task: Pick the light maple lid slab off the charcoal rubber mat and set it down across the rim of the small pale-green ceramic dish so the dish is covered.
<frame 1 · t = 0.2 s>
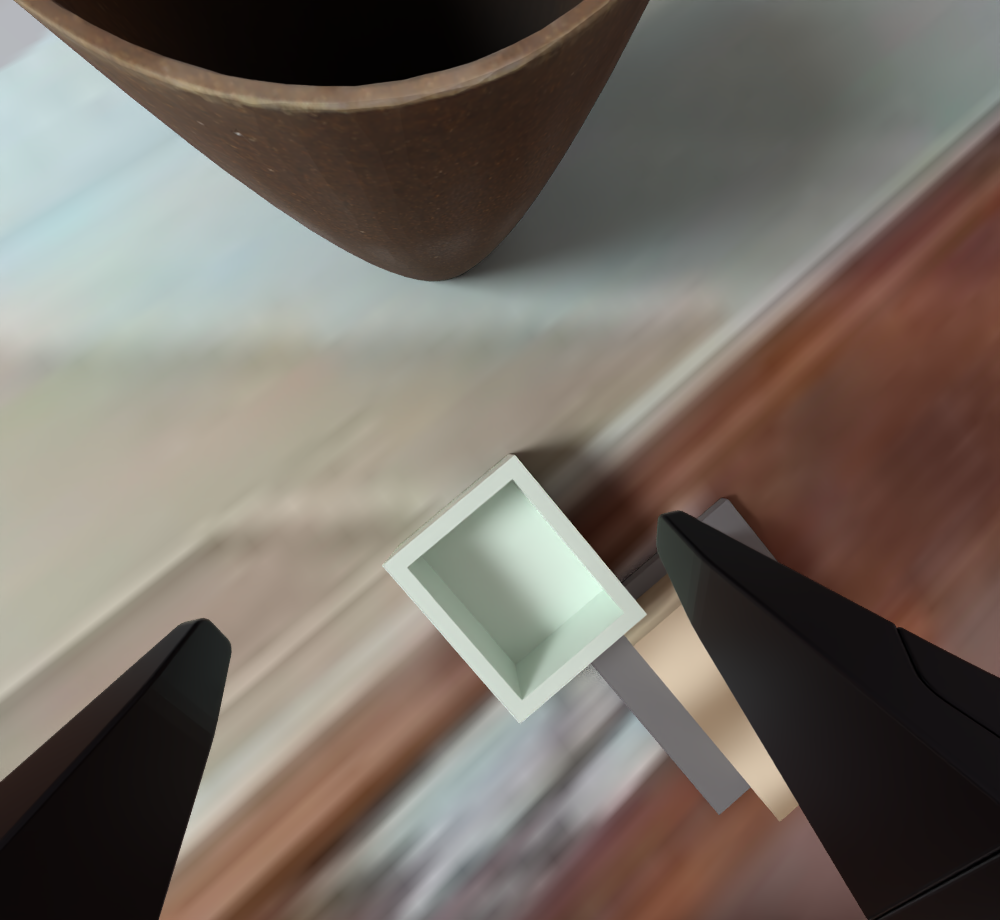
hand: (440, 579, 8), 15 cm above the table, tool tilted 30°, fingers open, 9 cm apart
lid: (723, 658, 23), point 1 cm above the table, touching mat
plant pot: (428, 218, 22), on the table
mat: (717, 653, 24), on the table
dish: (510, 566, 23), on the table
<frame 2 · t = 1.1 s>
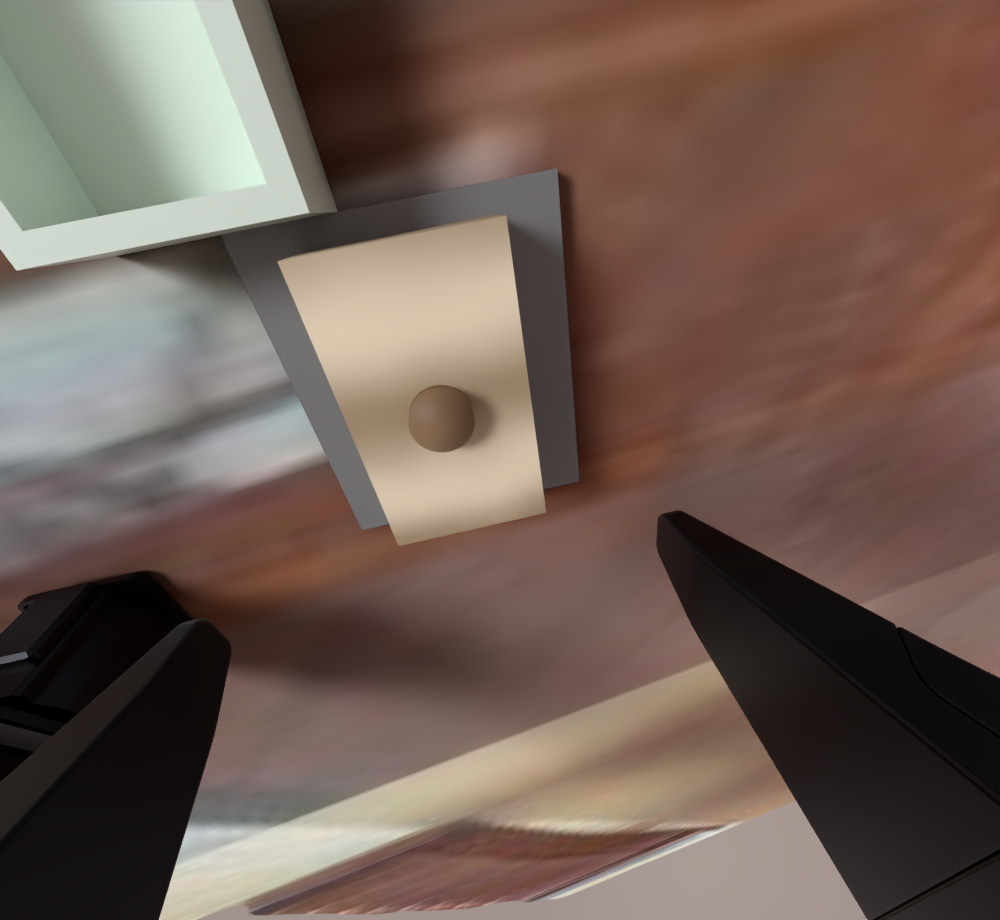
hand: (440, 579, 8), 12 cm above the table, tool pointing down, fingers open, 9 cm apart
lid: (440, 385, 18), point 1 cm above the table, touching mat
mat: (439, 381, 18), on the table
dish: (135, 39, 12), on the table
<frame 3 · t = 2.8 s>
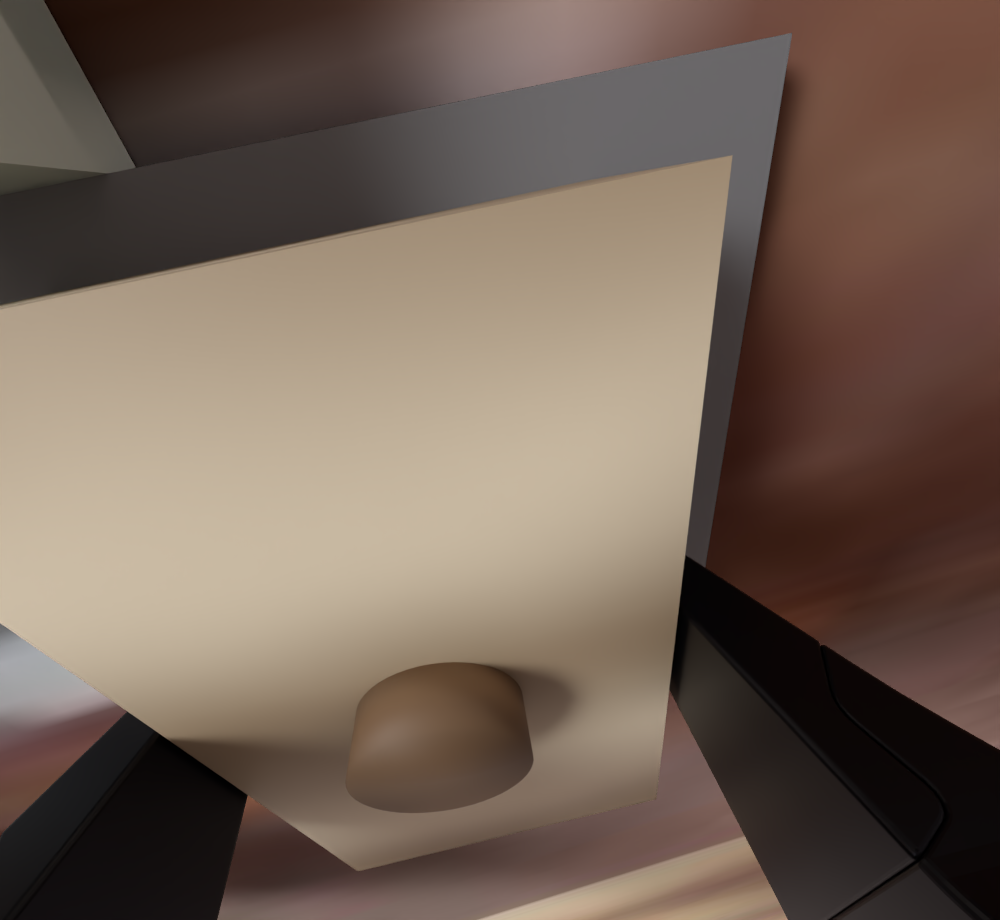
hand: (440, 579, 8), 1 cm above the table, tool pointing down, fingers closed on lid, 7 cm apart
lid: (440, 559, 8), point 1 cm above the table, touching gripper, mat
mat: (439, 539, 9), on the table
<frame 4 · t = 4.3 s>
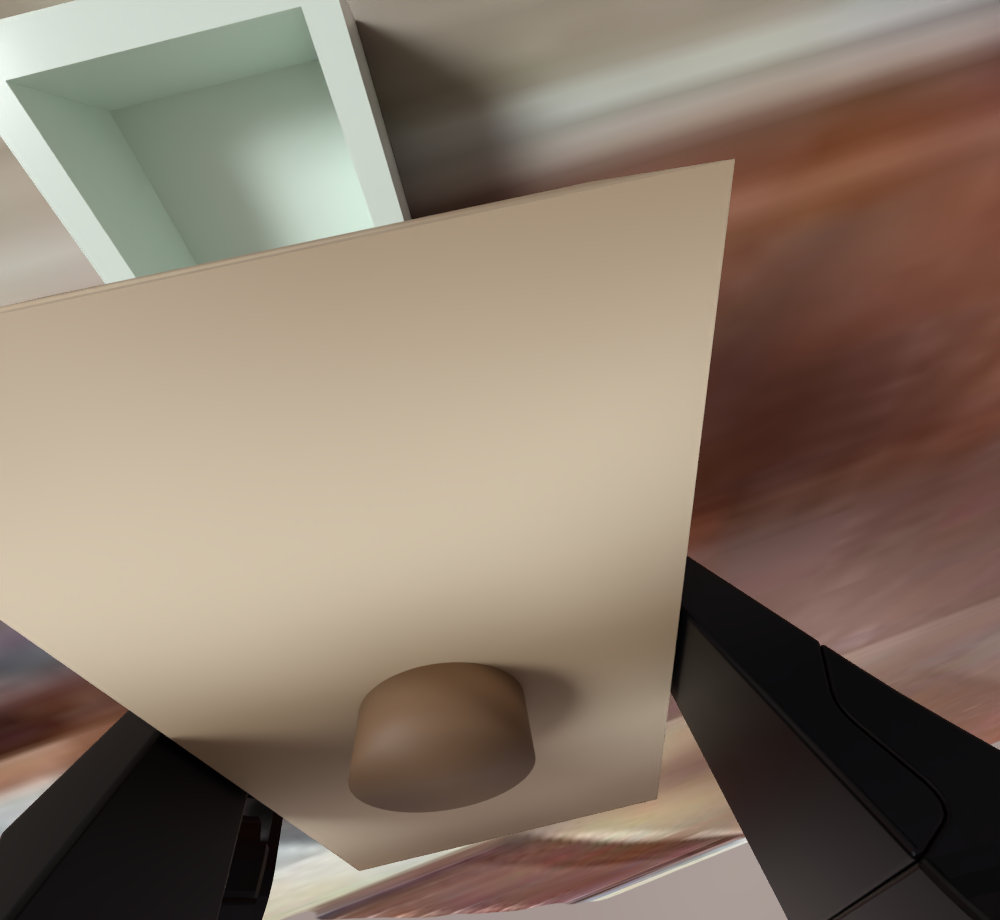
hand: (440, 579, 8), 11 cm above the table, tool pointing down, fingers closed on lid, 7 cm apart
lid: (441, 559, 8), point 11 cm above the table, touching gripper
dish: (301, 247, 14), on the table
when the fingers open (6 cm above the table, at t = 6.1 s): lid drops 1 cm, resting on dish.
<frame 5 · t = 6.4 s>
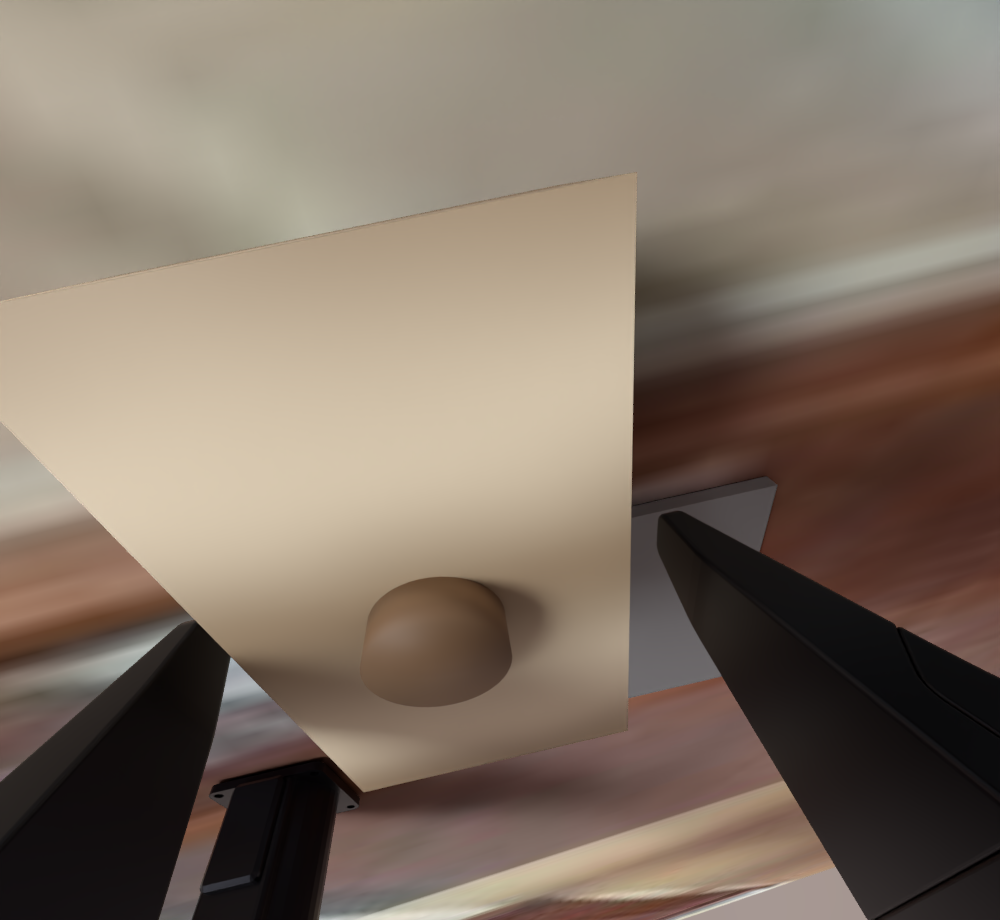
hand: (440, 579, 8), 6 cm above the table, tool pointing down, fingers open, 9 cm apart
lid: (437, 514, 10), point 4 cm above the table, touching dish
mat: (620, 616, 20), on the table
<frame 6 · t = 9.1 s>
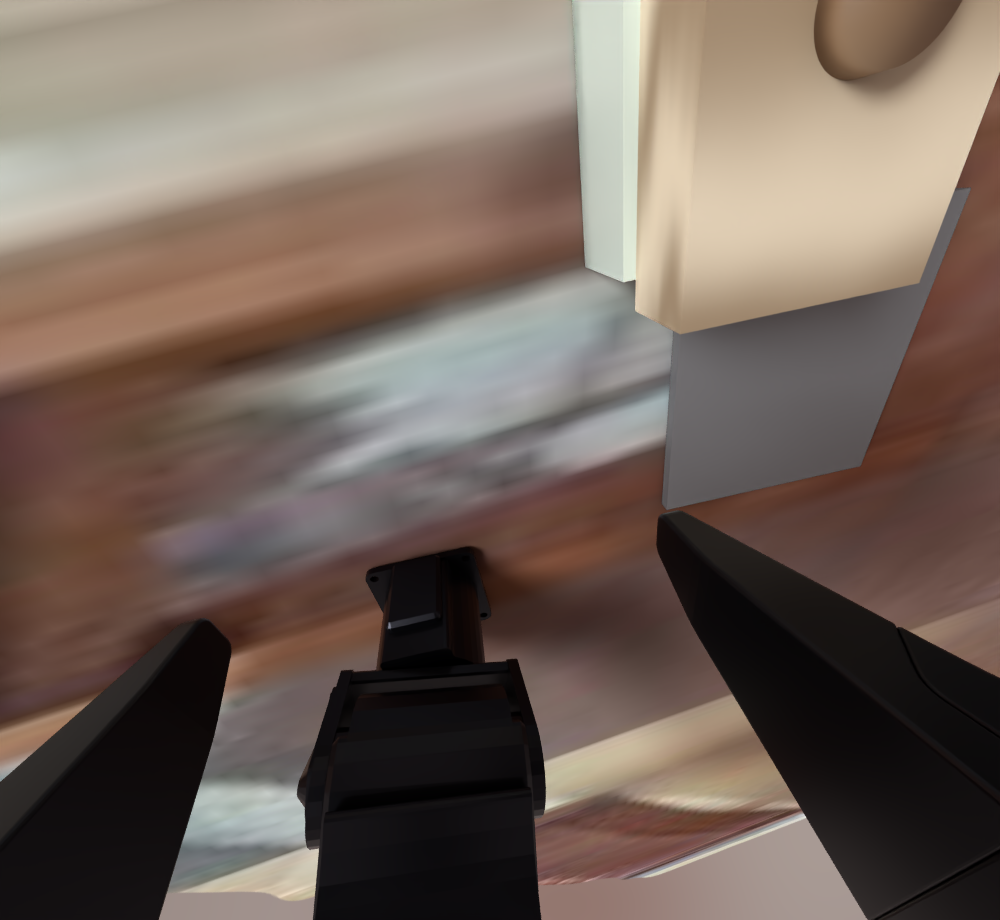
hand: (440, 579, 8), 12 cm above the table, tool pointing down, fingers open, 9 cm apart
lid: (768, 48, 10), point 4 cm above the table, touching dish
mat: (782, 374, 20), on the table
dish: (689, 86, 14), on the table
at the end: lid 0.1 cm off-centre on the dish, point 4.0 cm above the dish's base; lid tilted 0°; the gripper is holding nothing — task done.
